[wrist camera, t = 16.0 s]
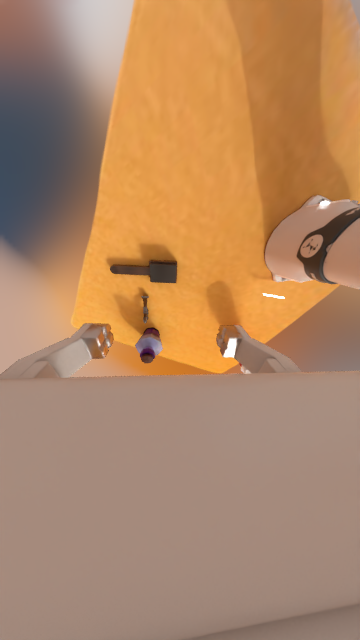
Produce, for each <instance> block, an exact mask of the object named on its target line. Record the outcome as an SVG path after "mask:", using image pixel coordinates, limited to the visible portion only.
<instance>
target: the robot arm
mask: <svg viewBox="0 0 360 640" xmlns="http://www.w3.org/2000/svg"><path fill="white" fill-rule="evenodd" d="M357 203H358V201H354V200H353V201H350V200H349V199H345V200H338V201H331V200H329V199H327V198H325V197H323V196H321V195H316V196H312V197H311V198H310V199H309V200H308V201H307V202H306V203H305V204H304V205H303V206H302V207H301V208H300V209H299V210H297V211H296V212H294V213H292V214H291V215H289V216H288V217H287V218H285V219H284V220H283V221H282V222H281V223H280V224H279V225H278V226H277V227H276V229H275V230H274V231H273V233H272V235H271V236H270V238H269V240H268V243H267V246H266V250H265V262H266V265H267V267H268V269H269V270H270V271H271V272H272V276H273V280H274V281H276V282H282V281H288V280H293V281H296V282H301V283H302V282H304V281H310V280H317V281H319V282H323V283H329V284H341V285H345V286H349V287H352V288H356V289H359V290H360V204H357ZM263 295H264V296H270V297H277V298H283V299H285V297H281V296H275V295H269V294H263ZM110 330H111V327H110V325H109V324H98V323H94V324H93V323H86V324H84V325H83V326H82V327H81V328H80V329H79V330H78V331H77V332H76V333H75V334H74V335H73V336H72V337H71V338H67V339H64V340H62V341H60V342H58V343H56V344H53V345H51V346H49V347H47V348H44V349H42V350H40V351H38V352H35V353H33V354H31V355H29V356H27V357H24V358H22V359H20V360H18V361H16V362H15V363H14V364H13V365H11V366H10V367H9V368H8V369H7V370H5V371H4V372H3V373H2V374H0V640H360V371H338V372H302V371H301V370H300V369H299V368H298V367H297V366H296V365H295V364H294V363H293V361H291V359H290V358H289V357H287V356H285V355H283V354H281V353H279V352H277V351H276V350H274V349H272V348H270V347H268V346H266V345H264V344H262V343H261V342H259V341H257V340H255V339H251V338H250V336H249V335H248V334H247V333H246V331H245V330H244V329H243V328H242V326H240V325H220V327H219V333H218V334H217V338H216V341H217V345H218V346H219V347H220V348H221V349H220V352H221V354H222V356H223V357H234V358H235V359H236V360H237V361H238V362H239V363H240V364H242V365H243V366H244V367H245V368H246V369H247V370H248V371H250V372H251V373H248V374H208V375H207V374H203V375H160V376H159V375H158V376H115V377H72V378H71V377H70V376H71V375H72V374H74V373H75V372H76V371H77V370H78V369H80V368H81V367H82V366H83V365H85V364H86V363H88V362H89V361H90V360H91V359H99V358H105V357H106V355H107V353H108V351H109V350H108V348H109V347H111V346H112V344H113V340H114V338H113V334H112V333H111V332H110ZM68 377H70V378H68Z"/></svg>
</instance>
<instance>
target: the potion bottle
mask: <svg viewBox="0 0 360 640" xmlns="http://www.w3.org/2000/svg"><path fill="white" fill-rule="evenodd" d="M159 335H160V334H159V331H158V330H157V329H155V328H147V329H146V330H145V332H144V334H143V335H142V336H141V338H140V339H139V341H138V342H137V344H136V345H135V346H136V348H137V350H138V352H139V353H140V357H141V360H142V362H144V363H151V362H152V361H153V359H154V358H155V355H158V354H159V353H160V351H161V350H162V349H163V348H162V344H161V340H160V337H159Z"/></svg>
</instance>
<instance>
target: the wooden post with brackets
mask: <svg viewBox="0 0 360 640" xmlns="http://www.w3.org/2000/svg"><path fill="white" fill-rule="evenodd" d="M141 297H142V298H143V302H144V307H143V308H144V310H143V311H144V312H143V313H144V317H143V321H144V323H146V322H147V319H148V317H147V314H149V313H148V309H147V298H148V296H141Z"/></svg>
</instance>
